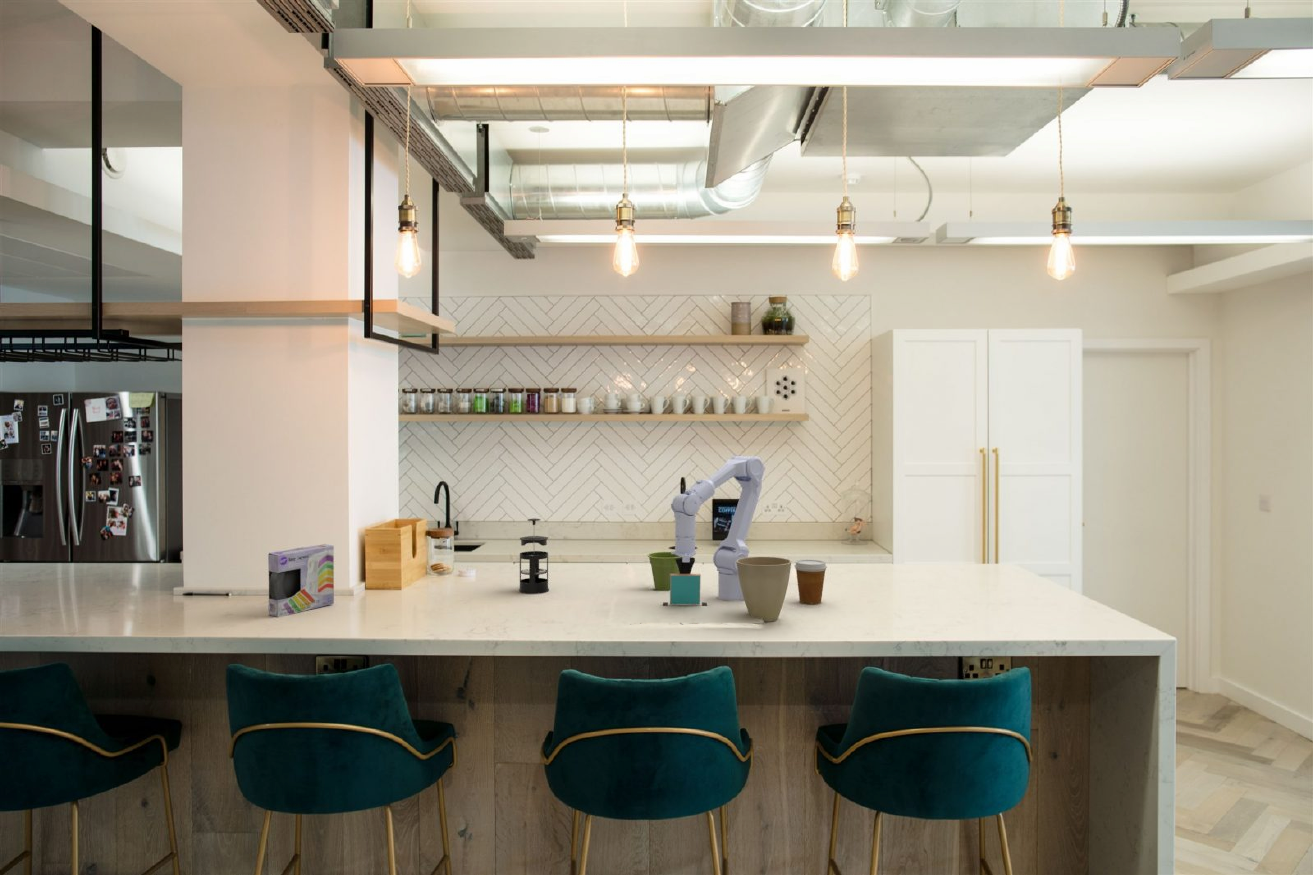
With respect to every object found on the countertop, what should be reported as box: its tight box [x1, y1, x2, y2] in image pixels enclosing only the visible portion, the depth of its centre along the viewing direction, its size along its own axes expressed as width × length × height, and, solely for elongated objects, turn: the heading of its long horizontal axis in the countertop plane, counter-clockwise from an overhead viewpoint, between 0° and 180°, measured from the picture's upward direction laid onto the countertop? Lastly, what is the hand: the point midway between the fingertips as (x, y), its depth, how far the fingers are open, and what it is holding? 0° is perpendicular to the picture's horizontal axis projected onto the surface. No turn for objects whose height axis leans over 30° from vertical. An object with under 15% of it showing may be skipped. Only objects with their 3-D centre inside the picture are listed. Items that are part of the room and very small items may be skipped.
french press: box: [518, 517, 550, 595], centre depth 257 cm, size 12×9×23 cm
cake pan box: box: [267, 543, 335, 618], centre depth 228 cm, size 19×5×18 cm, turn 149°
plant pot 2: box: [736, 556, 792, 623], centre depth 220 cm, size 15×15×16 cm
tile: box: [669, 573, 701, 605], centre depth 230 cm, size 9×1×9 cm, turn 90°
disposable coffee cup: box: [794, 559, 828, 605], centre depth 241 cm, size 10×10×12 cm
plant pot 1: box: [647, 551, 681, 592], centre depth 259 cm, size 12×12×11 cm
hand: (684, 583), depth 231 cm, fingers closed
